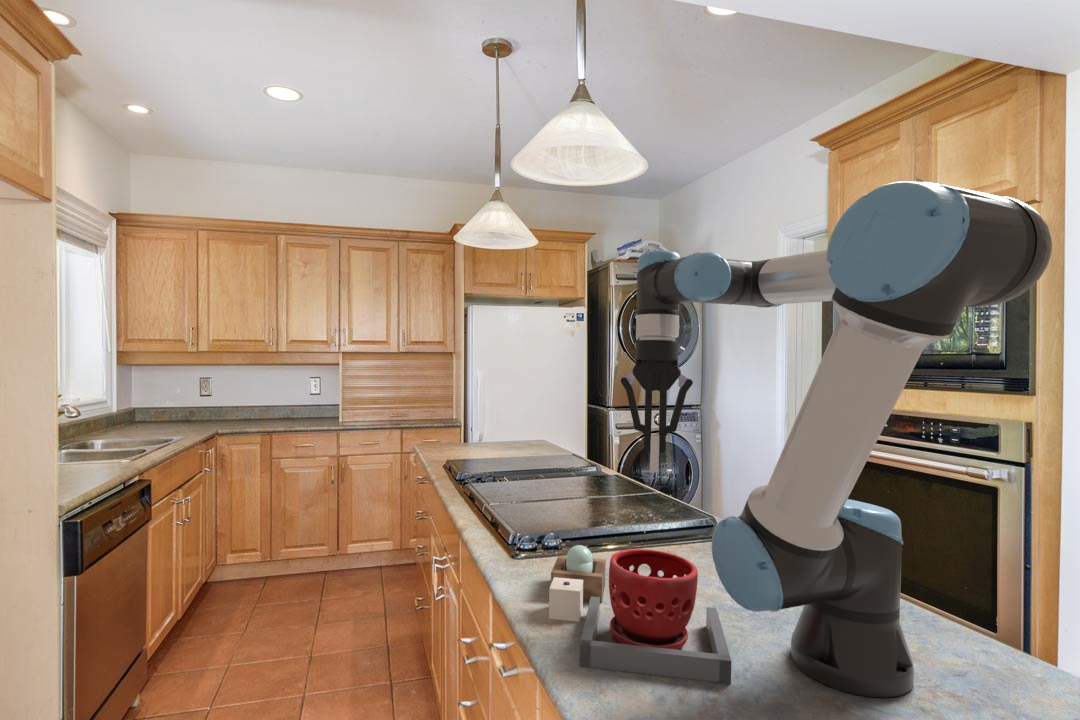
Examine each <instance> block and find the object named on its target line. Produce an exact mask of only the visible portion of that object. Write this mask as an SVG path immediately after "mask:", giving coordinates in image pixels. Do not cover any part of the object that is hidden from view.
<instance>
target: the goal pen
mask: <svg viewBox="0 0 1080 720" xmlns="http://www.w3.org/2000/svg"><path fill="white" fill-rule="evenodd" d="M600 607H601V603H600V597H592V596H591V598H590V602H588V608H587V612H586V616H585V619H584V620H585V621H584V624H583V630H582V634H581V637H580V643H579V663H578V664H579V665H578V666H579V667H582V668H583V667H584V668H592V669H602V670H609V671H618V672H627V673H636V674H645V675H653V676H660V677H661V676H662V677H668V678H669V677H670V678H678V679H686V680H687V679H688V680H695V681H705V682H713V683H722V684H728V685H729V684H732V658H731V655H730V650H729V648H728V644H727V641H726V636H725V634H724V630H723V626H722V623H721V619H720V616H719V612H718V609H717V607H707V606H706V616H705V617H706V618H705V620H706V621H705V622H706V623H705V626H706V632H707V635H708V641H709V644H710V649H711V652H705V651H704V652H703V651H702V652H701V651H695V650H694V651H693V650H683V649H678V650H676V649H667V648H657V647H648V646H639V645H630V644H621V643H620V642H619V643H618V642H612V641H611V642H610V641H609V642H608V641H602V640H601V641H600V640H599V641H598V640H596V639H597V638H596V637H597V632H598V625H599V620H600V614H601V612H600Z"/></svg>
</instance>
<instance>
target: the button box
mask: <svg viewBox="0 0 1080 720" xmlns="http://www.w3.org/2000/svg"><path fill="white" fill-rule="evenodd" d="M566 557H567V555H557V557H556V560H555V563H554V564H553V567H552V569H551V572H550V584H551V583H552V581H553V579H554V577H558V578H569V579H580V580H583V602H588V603H589V602H590V598H591V596H592V597H600V604H601V603H603V599H604V591H605V587H606V572H607V571H606V569H607V568H606V566H607V565H606V564H607V559H604V558H593V569H592V573H588V572H576V571H566Z"/></svg>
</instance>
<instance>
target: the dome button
mask: <svg viewBox="0 0 1080 720" xmlns="http://www.w3.org/2000/svg"><path fill="white" fill-rule="evenodd" d="M566 556H567V557H566V571H576V572H588V573H592V569H593V554H592V551H591V550H590V549H589V548H588V547H587V546H584V545H581V544H578V545H574V546H572V547H570V548H569V550H568V552H567V554H566Z"/></svg>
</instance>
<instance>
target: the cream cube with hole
mask: <svg viewBox="0 0 1080 720" xmlns="http://www.w3.org/2000/svg"><path fill="white" fill-rule="evenodd" d="M548 591H549V592H548V593H549V594H548V619H550V620H556V621H557V620H559V621H568V622H578V623H580V621H581V617H582V613H583V608H584V601H583V580H580V579H569V578H558V577H554V579H553V581H552V583H551V582H550V586H549V589H548Z"/></svg>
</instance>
